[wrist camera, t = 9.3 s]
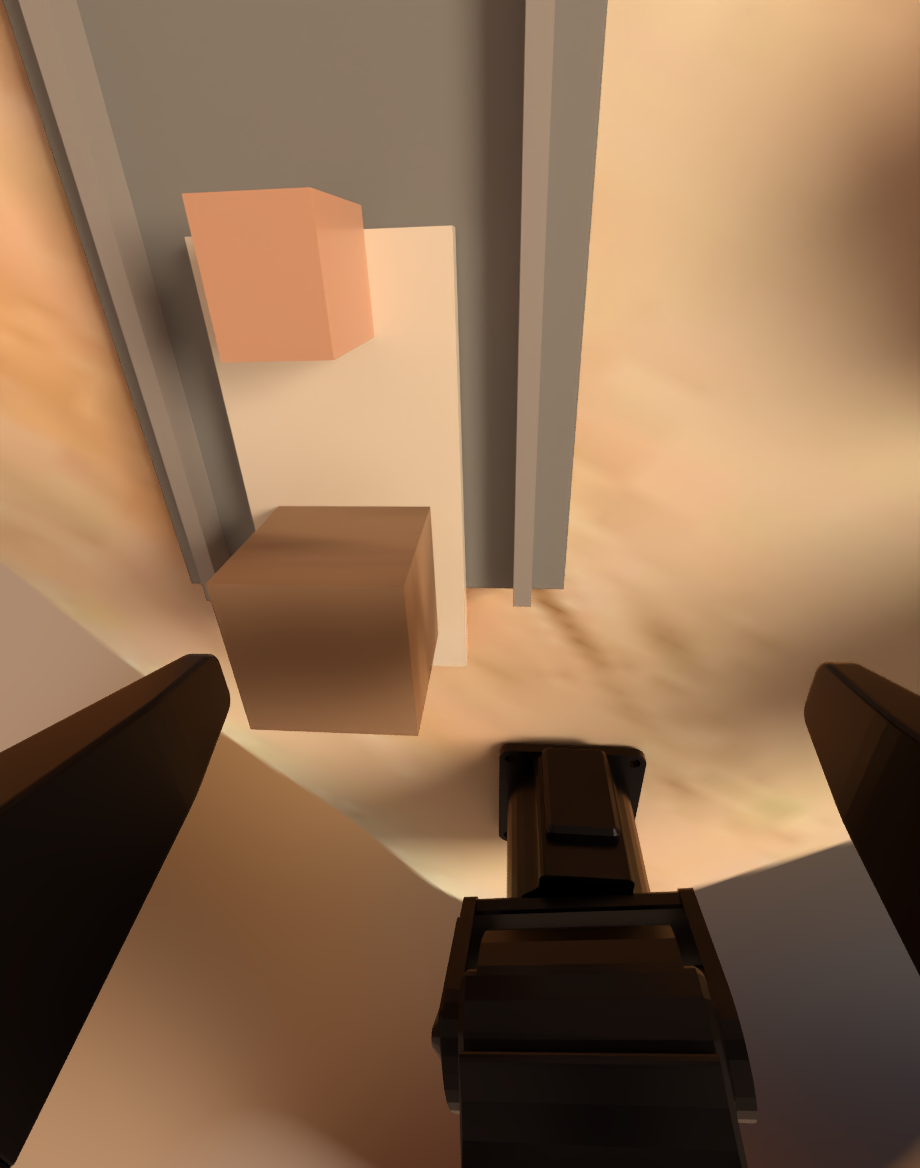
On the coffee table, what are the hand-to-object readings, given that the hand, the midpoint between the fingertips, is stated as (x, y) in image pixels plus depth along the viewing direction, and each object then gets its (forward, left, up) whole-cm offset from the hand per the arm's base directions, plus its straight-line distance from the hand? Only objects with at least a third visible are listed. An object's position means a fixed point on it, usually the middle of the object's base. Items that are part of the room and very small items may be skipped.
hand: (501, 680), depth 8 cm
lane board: (+4, +5, -12) cm, 13 cm away
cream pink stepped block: (-1, +5, -11) cm, 12 cm away
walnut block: (-4, +5, -10) cm, 12 cm away
